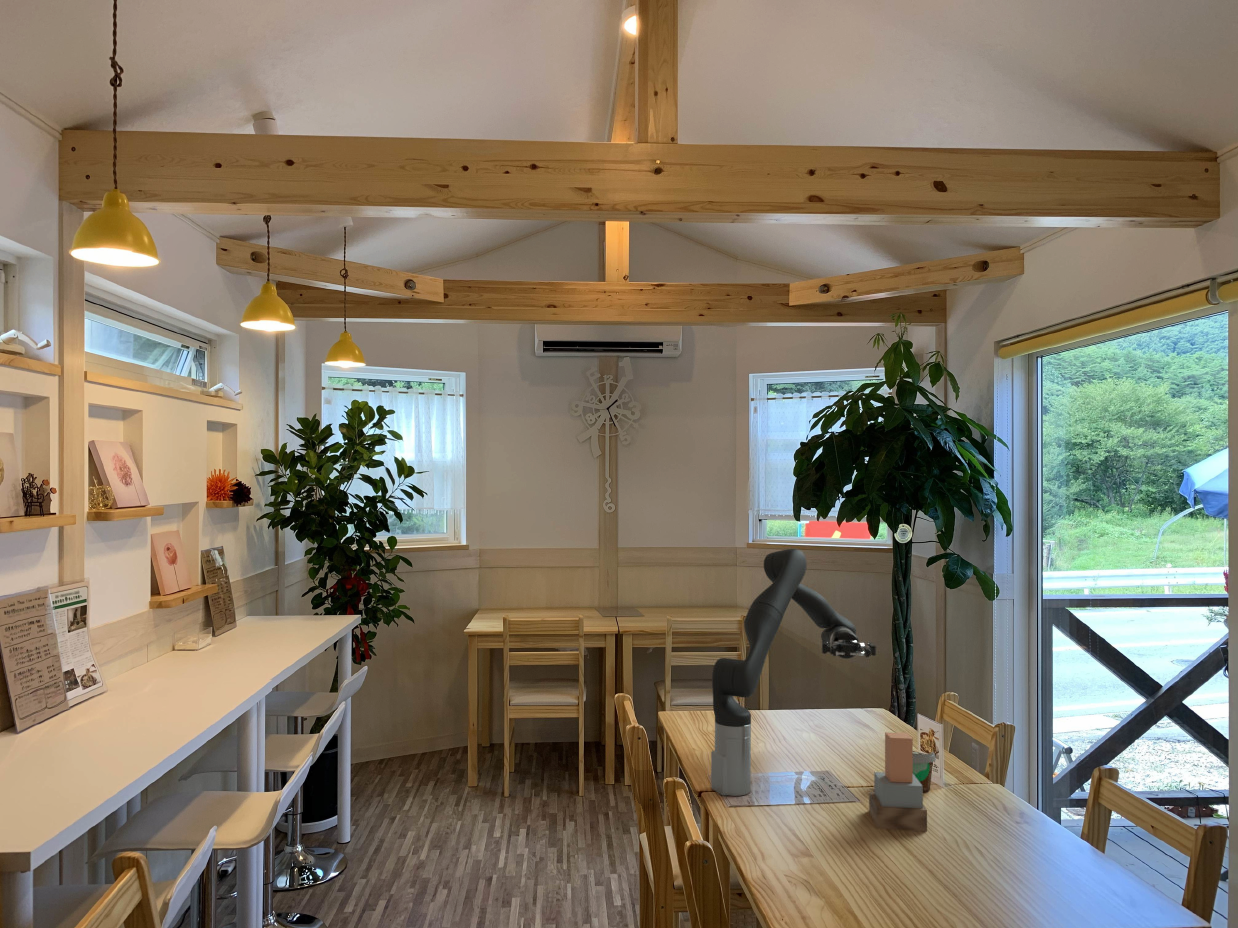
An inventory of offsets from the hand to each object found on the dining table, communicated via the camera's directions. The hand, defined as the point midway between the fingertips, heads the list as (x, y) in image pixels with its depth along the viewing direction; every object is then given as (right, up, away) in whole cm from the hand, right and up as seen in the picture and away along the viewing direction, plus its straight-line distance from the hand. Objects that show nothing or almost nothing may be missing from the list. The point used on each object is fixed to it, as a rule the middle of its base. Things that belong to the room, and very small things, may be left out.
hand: (851, 652), depth 229 cm
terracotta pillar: (+3, -23, -29) cm, 37 cm away
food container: (+13, -34, -7) cm, 37 cm away
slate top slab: (+3, -28, -29) cm, 40 cm away
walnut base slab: (+3, -33, -29) cm, 44 cm away
